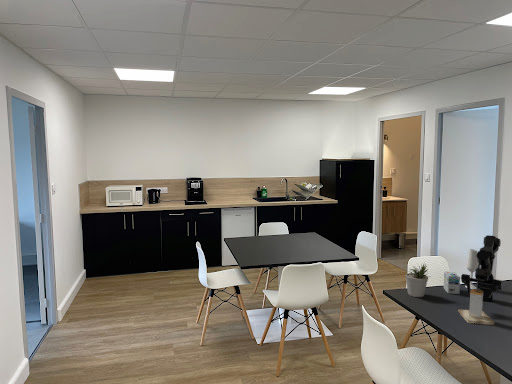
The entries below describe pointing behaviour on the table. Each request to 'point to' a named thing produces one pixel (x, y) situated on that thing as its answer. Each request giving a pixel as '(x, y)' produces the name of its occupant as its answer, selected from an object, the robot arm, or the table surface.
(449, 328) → the table surface
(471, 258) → the champagne flute
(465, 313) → the birch board
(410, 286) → the potted plant
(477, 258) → the robot arm
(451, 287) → the light bulb box
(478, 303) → the aluminium block
